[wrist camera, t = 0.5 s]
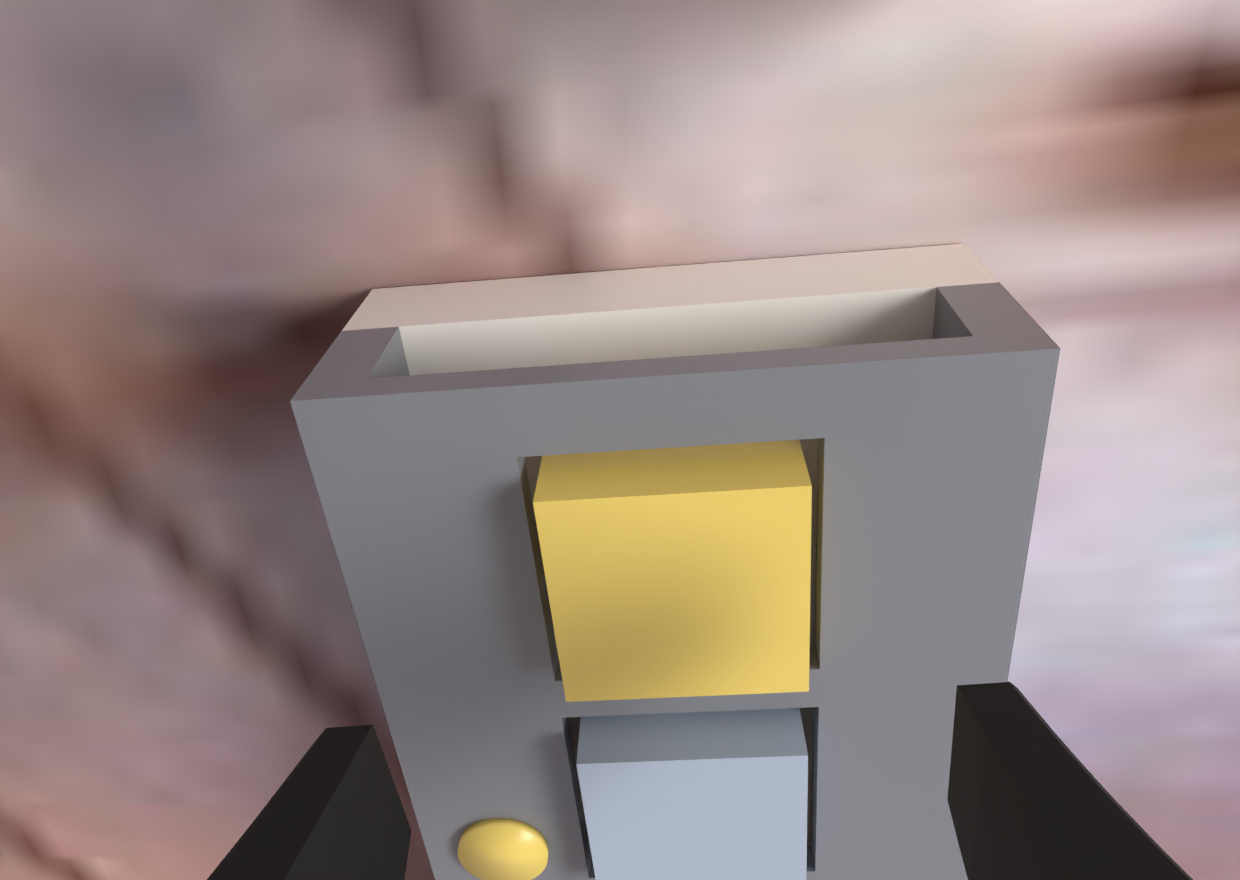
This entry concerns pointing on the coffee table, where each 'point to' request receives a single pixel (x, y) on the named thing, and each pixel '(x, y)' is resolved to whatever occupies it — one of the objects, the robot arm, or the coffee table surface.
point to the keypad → (666, 418)
